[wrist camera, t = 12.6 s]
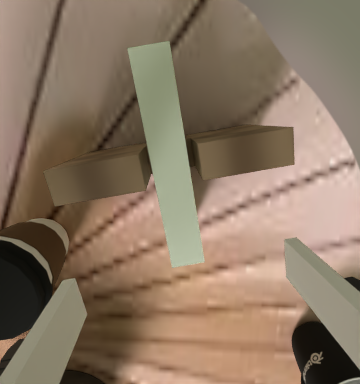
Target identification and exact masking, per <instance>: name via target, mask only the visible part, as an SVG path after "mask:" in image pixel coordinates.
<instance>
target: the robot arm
mask: <svg viewBox="0 0 360 384" xmlns="http://www.w3.org/2000/svg"><path fill="white" fill-rule="evenodd" d="M284 246H285V264H286V278H287V279H288V280H289V281H290V283H291V284H292V285H293V286H294V288H295V289H296V290H297V292H298V293H299V294H300V295H301V297H302V298H303V299H304V300H305V302H306V303H307V304H308V305H309V307H310V308H311V309H312V310H313V312H314V313H315V314H316V315H317V317H318V318H319V319H320V320H321V322H322V323H323V324H324V326H325V327H326V328H327V329H328V331H329V332H330V333H331V334H332V336H333V337H334V338H335V339H336V341H337V342H338V343H339V344H340V346H341V347H342V348H343V349H344V351H345V352H346V353H347V354H348V356H349V357H350V358H351V360H352V361H353V362H354V363H355V365H356V366H357V367H358V368H359V370H360V280H358V279H356V278H354V277H348V278H343V277H342V276H340V275H339V274H338V273H337V272H336V271H335V270H333V269H332V268H331V267H330V266H329V265H328V264H327V263H325V262H324V261H323V260H322V259H321V258H320V257H318V256H317V255H316V254H315V253H314V252H313V251H311V250H310V249H309V248H308V247H307V246H306V245H304V244H303V243H302V242H301V241H300V240H299V239H297V238H290V239H285V240H284ZM86 316H87V312H86V309H85V306H84V303H83V300H82V297H81V294H80V291H79V288H78V285H77V282H76V279H75V278H72V279H67V280H63V281H62V282H61V284H60V285H59V287H58V288H57V290H56V292H55V293H54V295H53V296H52V298H51V299H50V301H49V302H48V304H47V305H46V307H45V308H44V310H43V312H42V313H41V315H40V316H39V318H38V319H37V321H36V322H35V324H34V325H33V327H32V328H31V330H30V332H29V333H28V335H27V336H26V338H25V339H19V340H18V341H17V342H16V343H15V344H14V345H12V346H11V347H10V348H9V349H8V350H7V352H6V353H5V355H4V356H3V358H2V359H1V362H0V384H103V383H102V382H101V381H100V380H98V379H97V378H95V377H93V376H91V375H88V374H85V373H81V372H77V371H65V368H66V366H67V363H68V361H69V358H70V356H71V353H72V351H73V348H74V346H75V344H76V341H77V339H78V336H79V334H80V331H81V329H82V326H83V324H84V321H85V319H86Z"/></svg>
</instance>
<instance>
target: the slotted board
mask: <svg viewBox="0 0 360 384" xmlns="http://www.w3.org/2000/svg"><path fill="white" fill-rule="evenodd" d="M184 136H185V142H186V148H187V154H188V161H189V167H193V166H195V167H196V169H197V171H198V172H199V174H200V176H201V177H202V179H203V180H209V179H215V178H220V177H226V176H232V175H238V174H243V173H249V172H255V171H260V170H266V169H272V168H277V167H283V166H289V165H294V134H293V127H280V126H262V125H241V126H236V127H230V128H224V129H219V130H213V131H207V132H201V133H196V134H190V135H184ZM43 173H44V176H45V179H46V182H47V185H48V188H49V191H50V194H51V197H52V200H53V203H54V206H61V205H66V204H72V203H78V202H83V201H89V200H95V199H101V198H106V197H112V196H118V195H123V194H129V193H135V192H141V191H146V188H147V185H148V182H149V179H150V176H151V174H153V172H152V167H151V162H150V157H149V152H148V147H147V142H145V143H139V144H133V145H127V146H122V147H116V148H110V149H105V150H99V151H93V152H89V153H86V154H84V155H81V156H79V157H77V158H74V159H72V160H69V161H67V162H64V163H62V164H59V165H57V166H55V167H52V168H50V169H47V170H45V171H43Z"/></svg>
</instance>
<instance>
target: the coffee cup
mask: <svg viewBox="0 0 360 384" xmlns="http://www.w3.org/2000/svg"><path fill="white" fill-rule="evenodd" d="M68 247H69V239H68V235H67V232H66V230H65V229H64V228H63V227H62V226H61V225H60V224H59V223H57V222H55V221H54V220H50V219H45V218H37V219H31V220H29V221H26V222H23V223H17V224H15V225H12V226H10V227H8V228H5V229H3V230H0V340H5V339H12V338H15V337H17V336H18V335H20V334H22V333H24V332H26V331H27V330H29V329H31V328H32V327H33V325H34V324H35V322H36V321H37V319H38V318H39V316H40V315H41V313H42V312H43V310H44V308H45V307H46V305H47V304H48V302H49V301H50V299H51V298H52V292H53V288H54V286H55V283H56V281H57V278H58V276H59V274H60V271H61V269H62V267H63V264H64V262H65V256H66V254H67V252H68Z"/></svg>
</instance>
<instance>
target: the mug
mask: <svg viewBox="0 0 360 384" xmlns="http://www.w3.org/2000/svg"><path fill="white" fill-rule="evenodd" d="M292 348H293V352H294V355H295V358H296V361H297V364H298V367H299V369H300V372H301V384H360V370H359V368H358V367H357V366H356V365H355V363H354V362H353V361H352V360H351V358H350V357H349V356H348V354H347V353H346V352H345V351H344V349H343V348H342V347H341V346H340V344H339V343H338V342H337V341H336V339H335V338H334V337H333V336H332V334H331V333H330V332H329V331H328V329H327V328H326V327H325V326H324V324H322V323H319V322H309V323H305V324H303V325H301V326H300V327H299V328H297V330H296V331H295V332H294V334H293V336H292Z"/></svg>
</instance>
